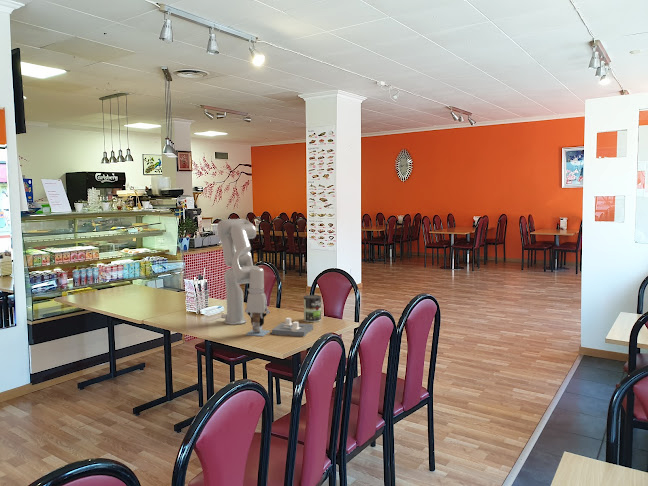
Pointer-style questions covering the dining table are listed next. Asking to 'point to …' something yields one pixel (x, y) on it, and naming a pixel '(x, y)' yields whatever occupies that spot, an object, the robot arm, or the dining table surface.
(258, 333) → the mat
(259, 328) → the brown grey cylinder
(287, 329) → the switch panel
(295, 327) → the tab
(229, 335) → the dining table surface
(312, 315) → the coffee can
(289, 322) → the tab
